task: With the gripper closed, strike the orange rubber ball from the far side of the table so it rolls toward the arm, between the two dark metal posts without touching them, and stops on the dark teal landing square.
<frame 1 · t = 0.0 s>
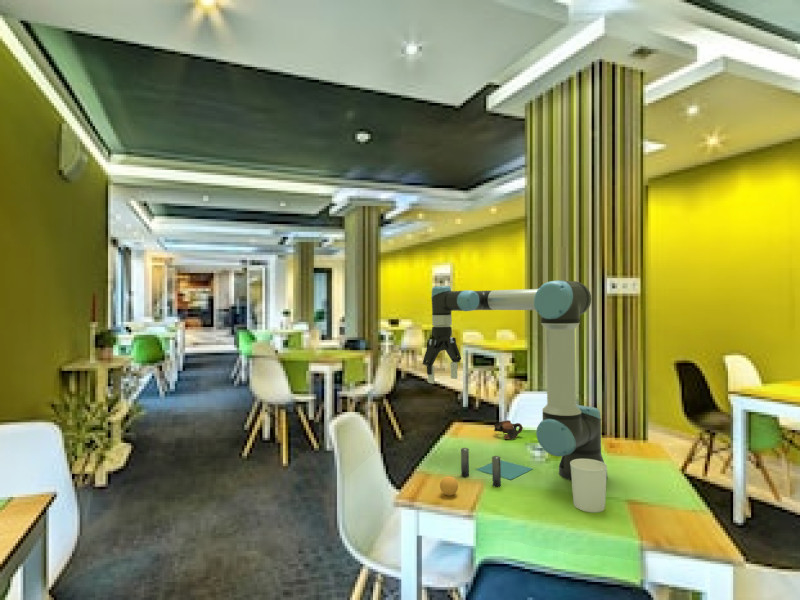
hand: (442, 380, 186), 28 cm above the table, tool pointing down, fingers open, 13 cm apart
candle holder: (589, 507, 136), on the table
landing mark: (504, 469, 167), on the table
right post: (496, 485, 153), on the table
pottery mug: (508, 437, 206), on the table
ball: (449, 485, 146), on the table
left post: (465, 475, 162), on the table
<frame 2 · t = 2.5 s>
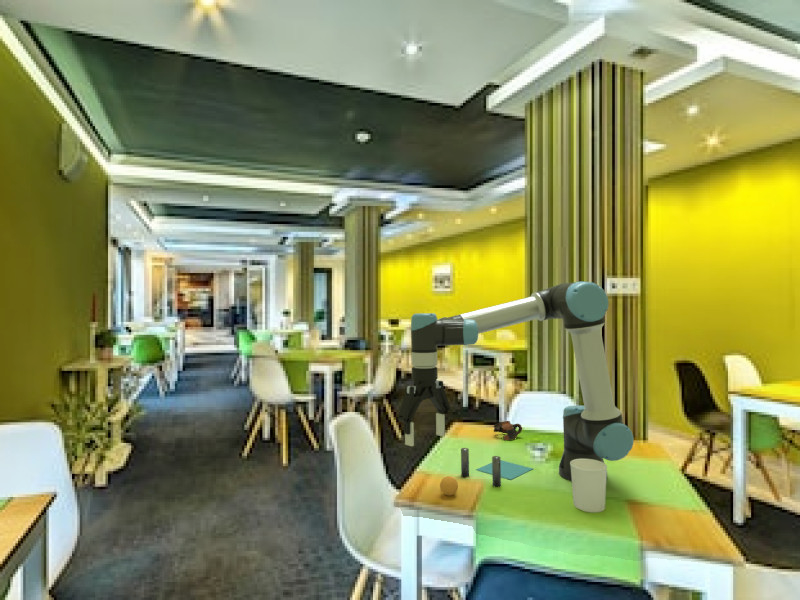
hand: (425, 440, 139), 19 cm above the table, tool pointing down, fingers open, 12 cm apart
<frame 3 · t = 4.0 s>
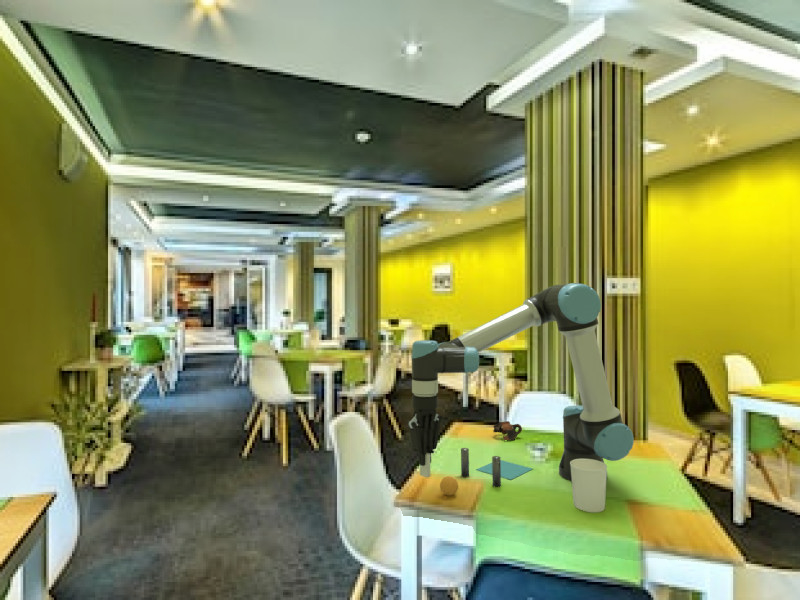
hand: (425, 475, 139), 9 cm above the table, tool pointing down, fingers closed
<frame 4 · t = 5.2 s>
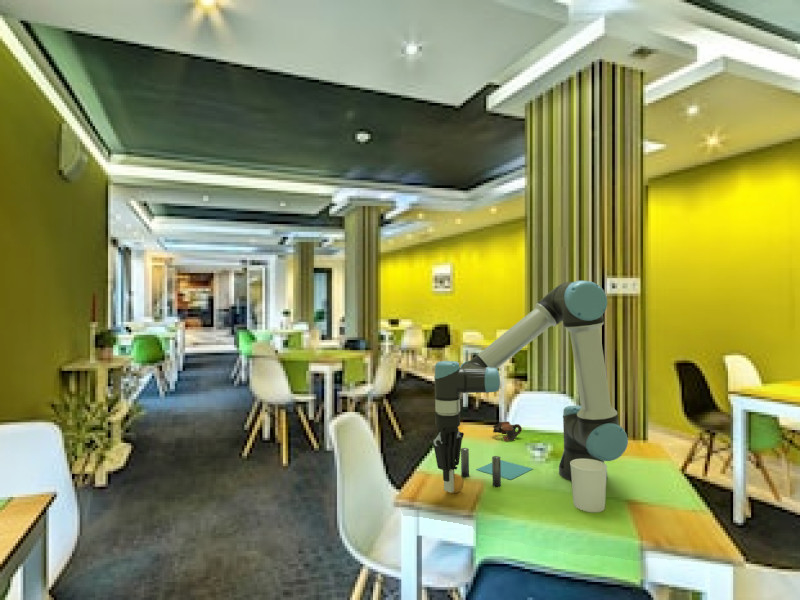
hand: (448, 490, 145), 2 cm above the table, tool pointing down, fingers closed
ball: (454, 483, 148), on the table
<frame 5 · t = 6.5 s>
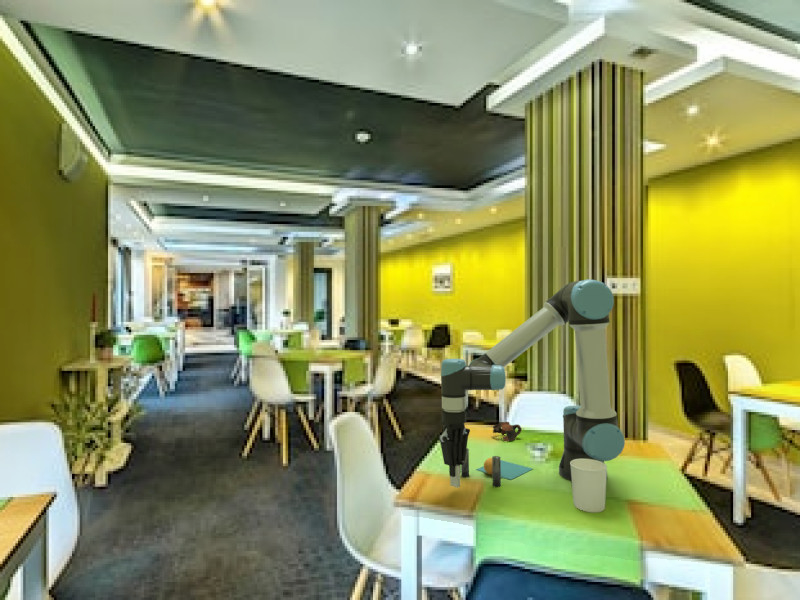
hand: (455, 485, 148), 2 cm above the table, tool pointing down, fingers closed
ball: (492, 466, 162), on the table
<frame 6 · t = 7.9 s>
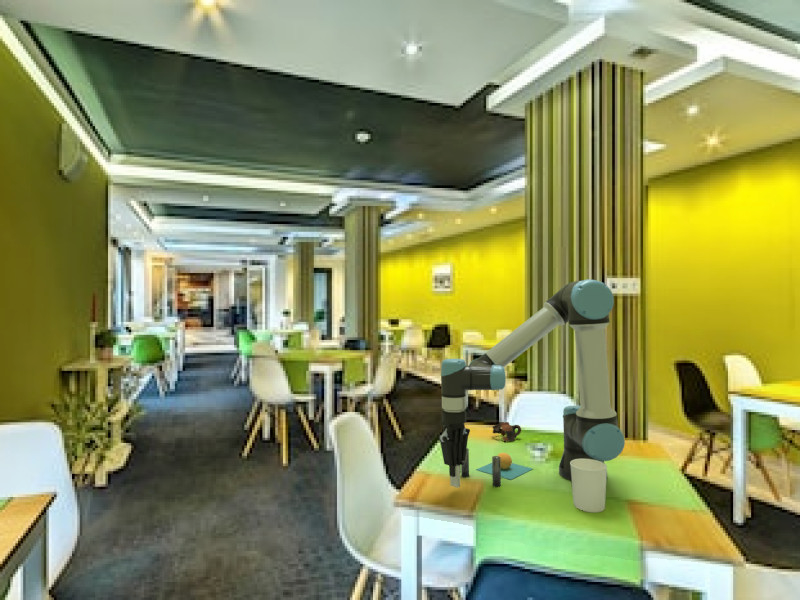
hand: (455, 485, 148), 2 cm above the table, tool pointing down, fingers closed
ball: (503, 460, 168), on the table
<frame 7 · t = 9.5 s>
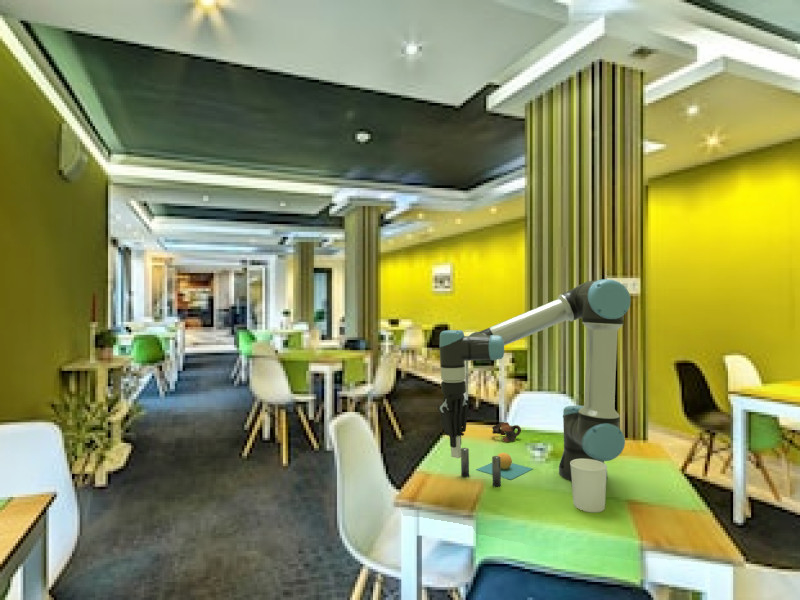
hand: (456, 456, 148), 11 cm above the table, tool pointing down, fingers closed
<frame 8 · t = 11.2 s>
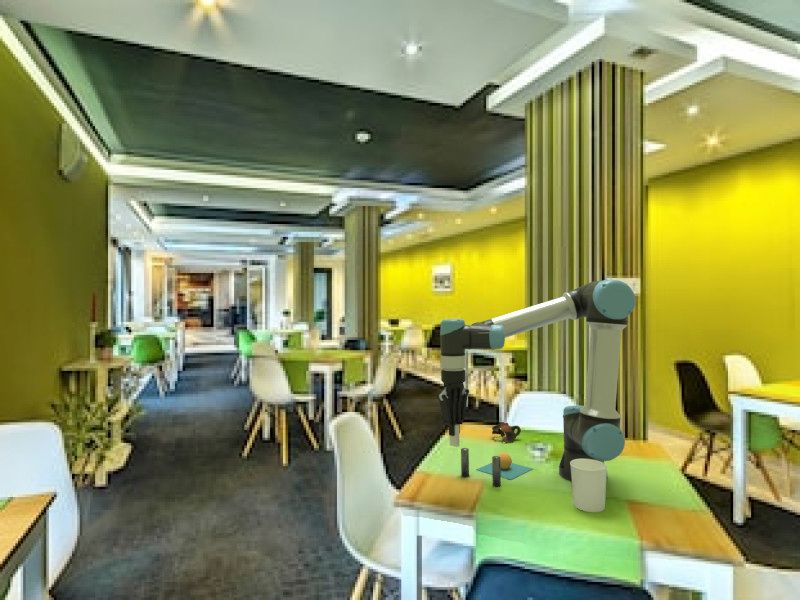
hand: (454, 445, 148), 14 cm above the table, tool pointing down, fingers closed
at the end: ball 0.7 cm from the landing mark (horizontally); ball never touched left post; ball never touched right post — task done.
